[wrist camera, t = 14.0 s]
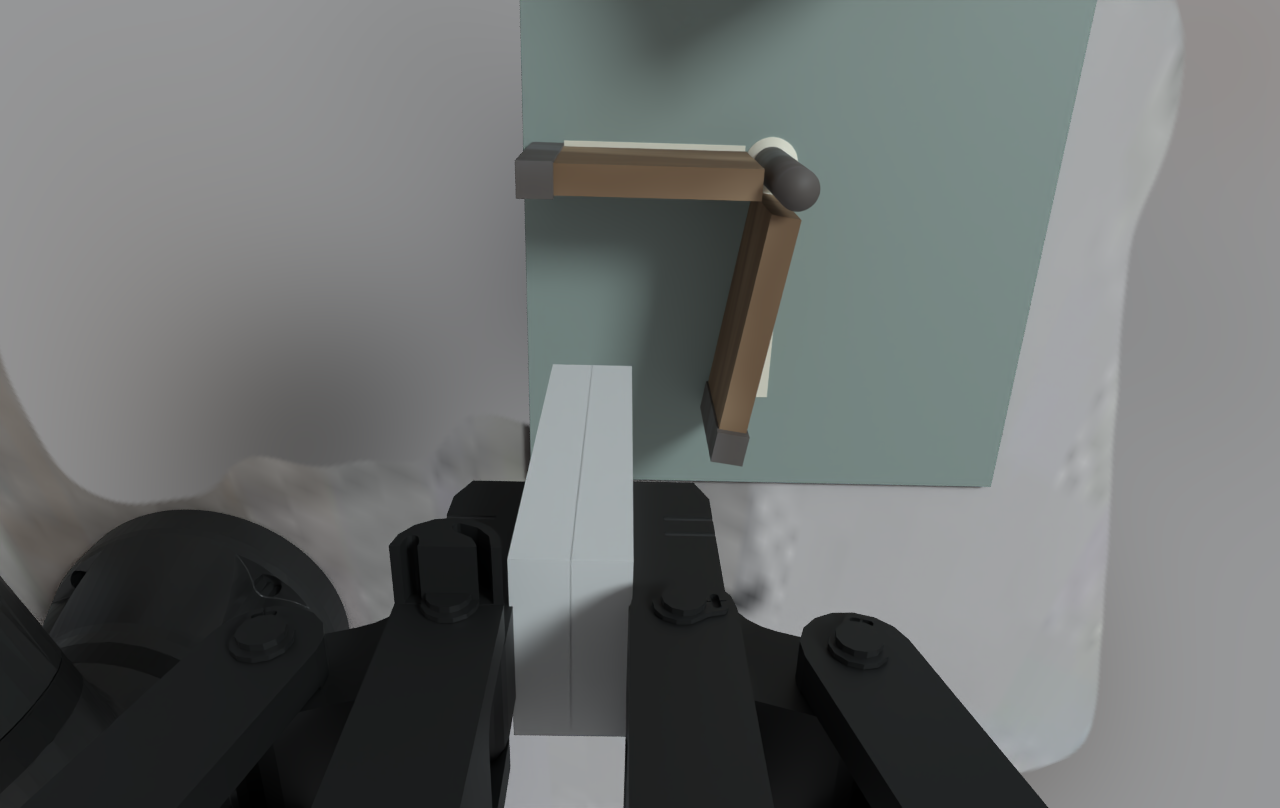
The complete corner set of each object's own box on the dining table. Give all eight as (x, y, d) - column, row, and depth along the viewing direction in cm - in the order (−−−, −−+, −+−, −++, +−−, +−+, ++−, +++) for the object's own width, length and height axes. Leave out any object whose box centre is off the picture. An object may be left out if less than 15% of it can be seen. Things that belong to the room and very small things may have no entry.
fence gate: (699, 407, 42) (710, 461, 37) (750, 190, 38) (771, 215, 33) (727, 411, 42) (742, 466, 37) (780, 196, 38) (806, 222, 33)
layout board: (987, 483, 45) (991, 487, 44) (531, 473, 44) (531, 477, 44) (1097, -25, 35) (1103, -26, 35) (520, -45, 35) (518, -46, 34)
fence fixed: (785, 182, 39) (817, 212, 32) (534, 175, 38) (514, 204, 32) (789, 146, 38) (822, 168, 31) (533, 138, 38) (512, 159, 31)
